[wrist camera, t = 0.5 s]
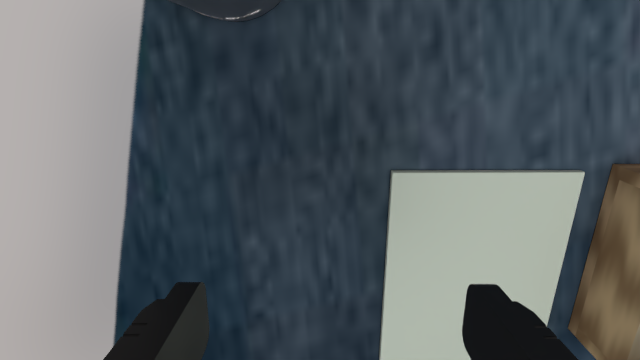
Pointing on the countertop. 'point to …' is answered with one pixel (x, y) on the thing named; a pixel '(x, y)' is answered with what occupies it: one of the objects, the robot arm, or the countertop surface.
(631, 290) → the wooden box
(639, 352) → the lid
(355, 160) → the countertop surface
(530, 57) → the countertop surface
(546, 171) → the mat
